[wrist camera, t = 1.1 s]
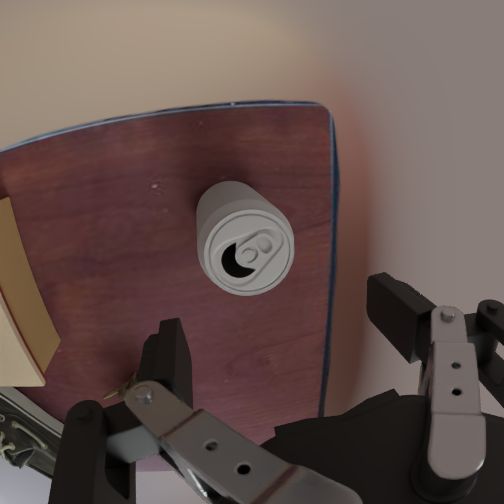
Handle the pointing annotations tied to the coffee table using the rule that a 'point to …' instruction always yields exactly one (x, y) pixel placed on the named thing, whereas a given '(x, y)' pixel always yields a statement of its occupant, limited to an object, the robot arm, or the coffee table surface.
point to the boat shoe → (27, 433)
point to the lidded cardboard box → (21, 312)
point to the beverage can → (242, 239)
